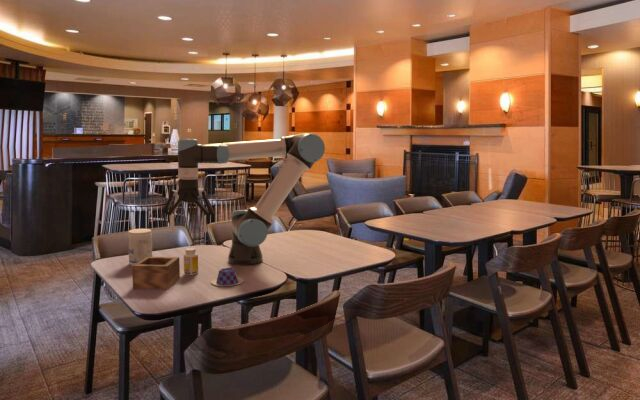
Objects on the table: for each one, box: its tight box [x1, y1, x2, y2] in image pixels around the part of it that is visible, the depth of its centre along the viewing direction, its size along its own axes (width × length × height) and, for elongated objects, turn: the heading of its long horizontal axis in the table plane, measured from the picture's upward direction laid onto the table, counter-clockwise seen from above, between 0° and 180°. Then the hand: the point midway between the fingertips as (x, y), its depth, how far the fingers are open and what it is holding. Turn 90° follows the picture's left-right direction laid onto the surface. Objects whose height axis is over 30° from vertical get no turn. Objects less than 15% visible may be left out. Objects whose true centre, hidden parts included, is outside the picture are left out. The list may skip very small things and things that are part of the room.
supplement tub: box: [127, 228, 153, 266], centre depth 205 cm, size 10×10×15 cm
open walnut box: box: [131, 256, 181, 290], centre depth 179 cm, size 13×13×8 cm
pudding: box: [210, 267, 244, 287], centre depth 181 cm, size 12×12×5 cm
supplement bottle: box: [183, 247, 199, 276], centre depth 191 cm, size 6×6×10 cm
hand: (189, 231), depth 189 cm, fingers open, 13 cm apart
